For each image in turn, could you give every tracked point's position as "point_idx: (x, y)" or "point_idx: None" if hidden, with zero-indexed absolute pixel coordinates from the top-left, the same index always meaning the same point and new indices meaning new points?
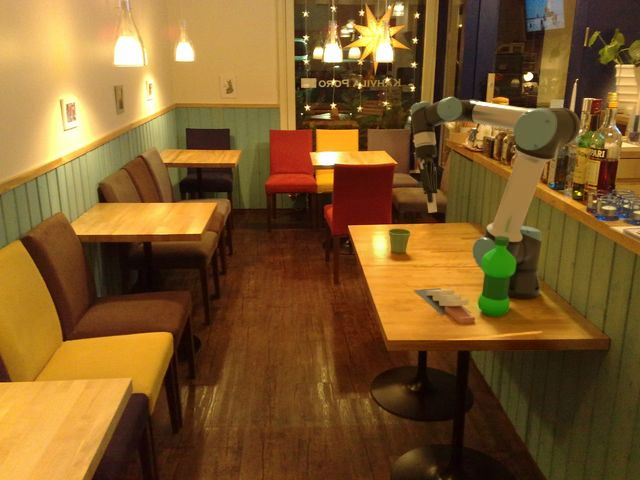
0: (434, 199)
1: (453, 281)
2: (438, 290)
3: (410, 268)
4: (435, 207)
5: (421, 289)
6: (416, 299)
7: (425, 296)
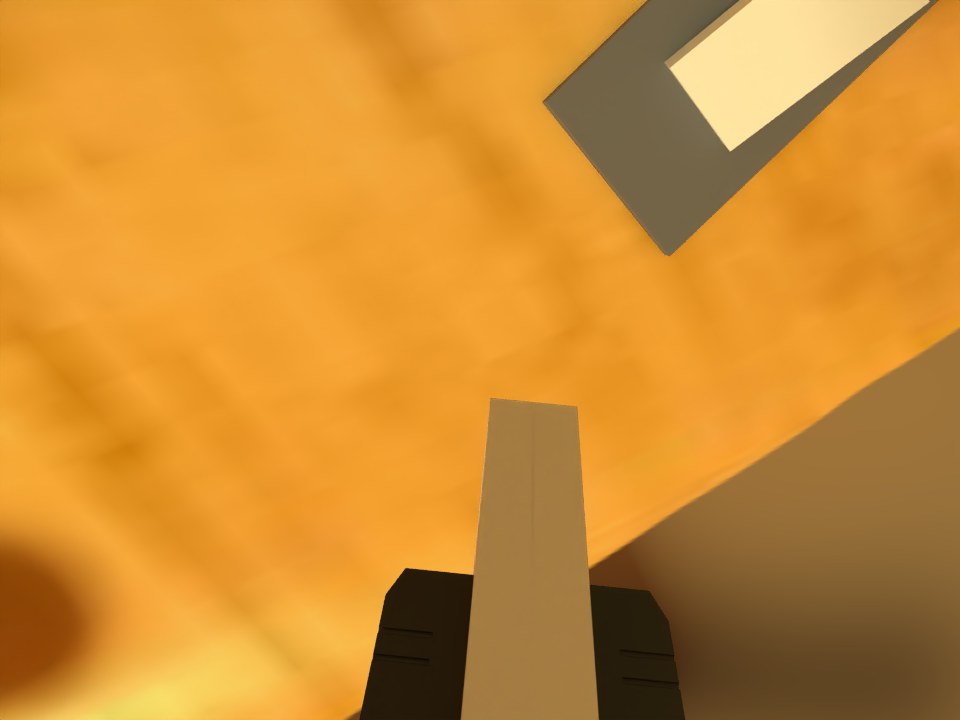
0: (575, 602)
1: (299, 57)
2: (871, 26)
3: (204, 456)
4: (562, 458)
5: (635, 211)
6: (778, 187)
7: (743, 143)
